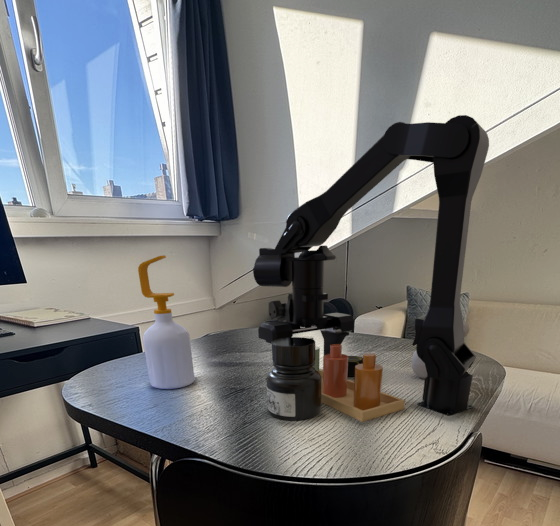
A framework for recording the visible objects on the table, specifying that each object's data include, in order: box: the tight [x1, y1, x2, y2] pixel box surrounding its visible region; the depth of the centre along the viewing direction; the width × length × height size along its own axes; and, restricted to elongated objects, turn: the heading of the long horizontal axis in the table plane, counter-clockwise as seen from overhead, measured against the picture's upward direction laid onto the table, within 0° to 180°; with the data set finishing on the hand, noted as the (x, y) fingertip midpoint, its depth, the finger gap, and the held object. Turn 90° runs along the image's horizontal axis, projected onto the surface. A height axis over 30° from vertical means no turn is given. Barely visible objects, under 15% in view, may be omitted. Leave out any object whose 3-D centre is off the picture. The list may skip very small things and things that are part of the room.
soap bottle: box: [137, 254, 195, 390], centre depth 81 cm, size 9×9×25 cm
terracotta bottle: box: [322, 344, 349, 398], centre depth 73 cm, size 4×4×9 cm
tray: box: [319, 368, 406, 423], centre depth 75 cm, size 25×9×2 cm, turn 32°
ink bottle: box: [266, 336, 322, 422], centre depth 66 cm, size 10×9×12 cm
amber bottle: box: [353, 352, 384, 411], centre depth 67 cm, size 4×4×9 cm
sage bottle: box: [303, 335, 321, 372], centre depth 80 cm, size 4×4×9 cm
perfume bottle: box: [410, 320, 470, 380], centre depth 81 cm, size 8×10×12 cm
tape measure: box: [347, 355, 363, 377], centre depth 87 cm, size 7×7×4 cm
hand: (307, 371), depth 81 cm, fingers open, 9 cm apart
